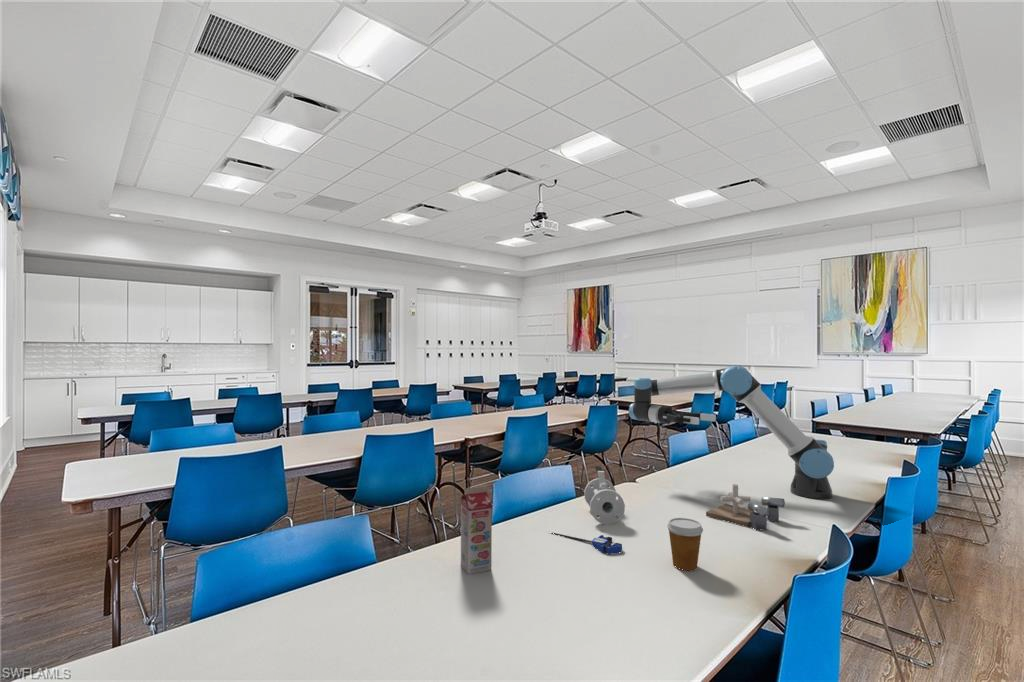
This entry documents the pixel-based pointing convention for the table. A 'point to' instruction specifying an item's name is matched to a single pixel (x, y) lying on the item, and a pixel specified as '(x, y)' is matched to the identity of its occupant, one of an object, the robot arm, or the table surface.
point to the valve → (604, 500)
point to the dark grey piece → (758, 516)
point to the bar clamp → (601, 544)
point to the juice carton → (476, 530)
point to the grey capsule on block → (773, 507)
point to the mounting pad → (731, 514)
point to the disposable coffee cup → (685, 542)
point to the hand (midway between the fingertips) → (707, 419)
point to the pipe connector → (735, 498)
